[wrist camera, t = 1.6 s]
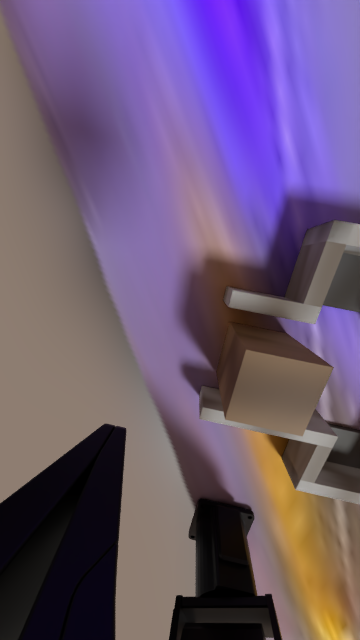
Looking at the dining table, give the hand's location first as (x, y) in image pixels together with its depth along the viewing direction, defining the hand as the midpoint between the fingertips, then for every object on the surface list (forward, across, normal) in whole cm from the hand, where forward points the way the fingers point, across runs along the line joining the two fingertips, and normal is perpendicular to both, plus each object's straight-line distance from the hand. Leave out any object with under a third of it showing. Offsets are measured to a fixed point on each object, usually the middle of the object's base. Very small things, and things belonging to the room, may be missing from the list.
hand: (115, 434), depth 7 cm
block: (+11, -8, 0) cm, 14 cm away
